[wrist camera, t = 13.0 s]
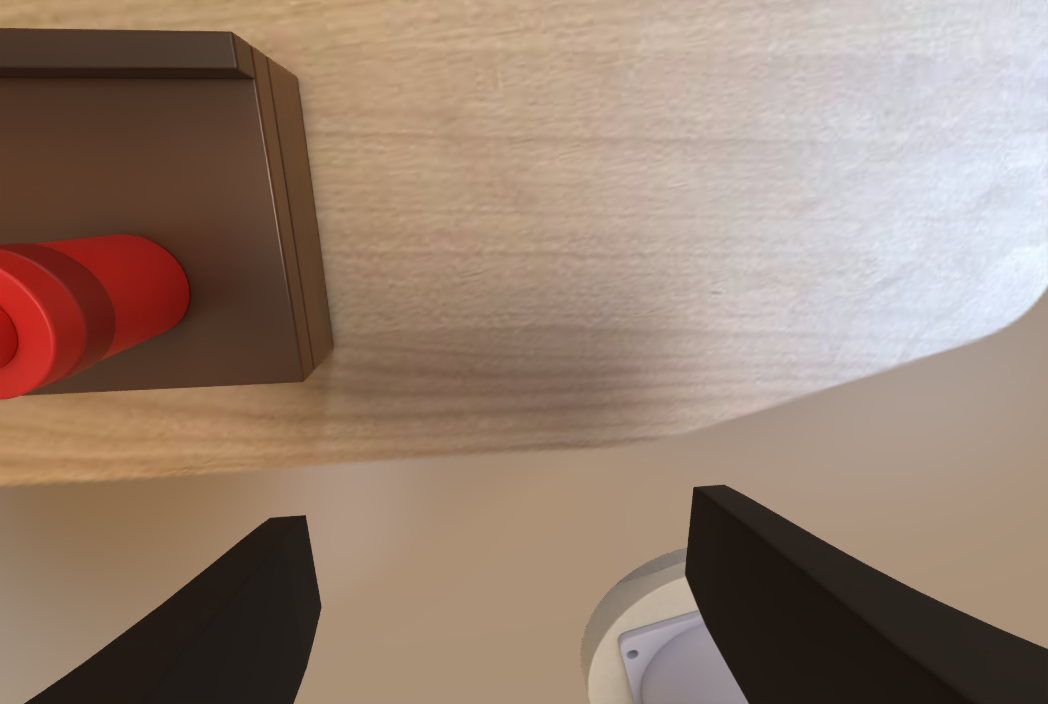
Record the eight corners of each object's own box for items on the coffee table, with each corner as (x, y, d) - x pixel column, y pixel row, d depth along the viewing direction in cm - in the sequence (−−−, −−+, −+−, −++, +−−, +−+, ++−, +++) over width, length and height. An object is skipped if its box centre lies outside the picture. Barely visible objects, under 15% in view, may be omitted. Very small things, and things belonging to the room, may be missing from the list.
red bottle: (210, 320, 14) (37, 404, 8) (112, 348, 14) (-130, 452, 8) (161, 219, 13) (-71, 237, 8) (55, 248, 13) (-259, 288, 8)
